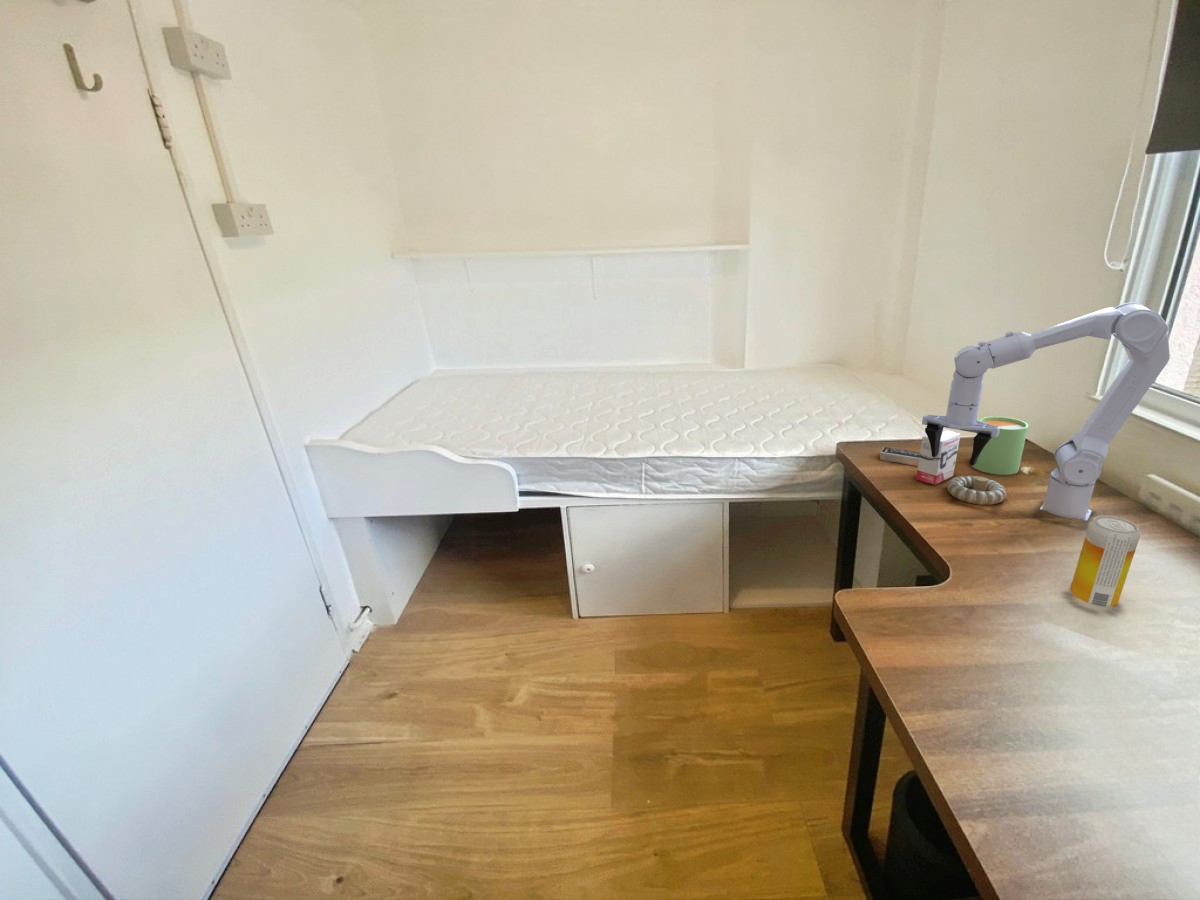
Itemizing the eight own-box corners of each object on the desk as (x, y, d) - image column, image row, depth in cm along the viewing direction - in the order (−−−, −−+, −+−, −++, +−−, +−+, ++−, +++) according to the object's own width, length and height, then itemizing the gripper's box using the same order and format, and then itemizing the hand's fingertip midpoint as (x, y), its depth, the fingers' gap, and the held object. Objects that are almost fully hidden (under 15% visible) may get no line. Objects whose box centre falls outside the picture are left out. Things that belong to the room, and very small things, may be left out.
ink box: (935, 485, 135) (942, 441, 130) (914, 479, 139) (921, 435, 134) (953, 476, 139) (961, 432, 134) (933, 470, 143) (940, 427, 138)
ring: (955, 481, 134) (957, 469, 133) (1010, 494, 126) (1013, 482, 125) (939, 497, 127) (941, 485, 126) (996, 512, 119) (999, 499, 118)
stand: (962, 490, 132) (966, 468, 129) (1002, 499, 126) (1007, 477, 124) (951, 502, 127) (955, 480, 125) (992, 512, 121) (997, 489, 119)
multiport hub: (924, 467, 145) (925, 459, 144) (879, 459, 151) (880, 451, 150) (927, 461, 148) (928, 453, 147) (883, 454, 154) (883, 446, 154)
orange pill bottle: (1105, 593, 94) (1130, 516, 88) (1123, 616, 89) (1150, 535, 83) (1062, 588, 96) (1083, 512, 90) (1077, 610, 91) (1100, 531, 85)
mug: (1029, 473, 137) (1040, 428, 133) (986, 476, 138) (996, 430, 133) (996, 454, 149) (1005, 412, 144) (957, 456, 149) (964, 414, 145)
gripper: (920, 401, 122) (912, 457, 127) (997, 412, 112) (985, 473, 117) (932, 393, 127) (923, 448, 132) (1007, 404, 116) (995, 463, 121)
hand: (953, 459), depth 125 cm, fingers open, 7 cm apart
